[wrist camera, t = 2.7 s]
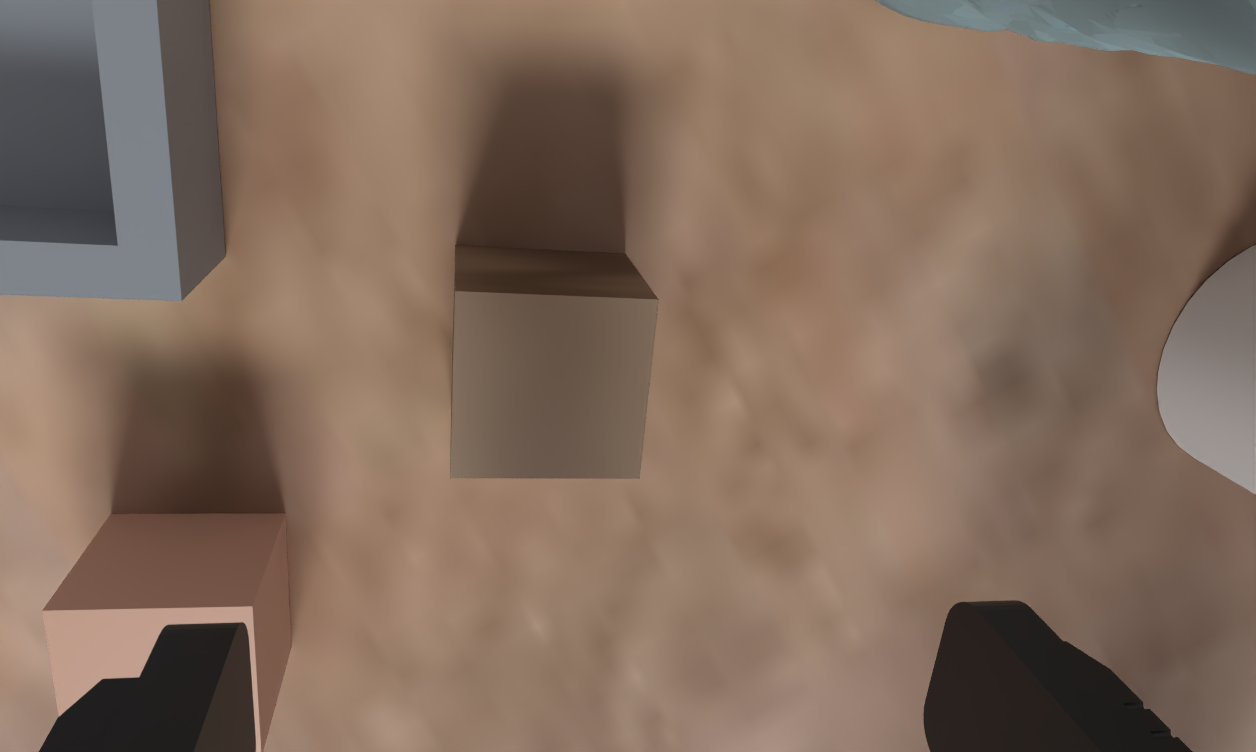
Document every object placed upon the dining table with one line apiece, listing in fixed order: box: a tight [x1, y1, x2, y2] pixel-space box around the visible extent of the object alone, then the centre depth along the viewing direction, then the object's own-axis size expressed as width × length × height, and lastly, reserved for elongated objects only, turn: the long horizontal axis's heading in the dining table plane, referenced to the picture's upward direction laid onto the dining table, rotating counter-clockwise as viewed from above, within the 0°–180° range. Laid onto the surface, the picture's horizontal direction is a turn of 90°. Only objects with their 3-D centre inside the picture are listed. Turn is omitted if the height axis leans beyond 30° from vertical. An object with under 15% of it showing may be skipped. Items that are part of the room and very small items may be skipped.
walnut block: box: [450, 245, 659, 479], centre depth 20 cm, size 4×4×4 cm
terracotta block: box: [42, 513, 291, 752], centre depth 21 cm, size 4×4×4 cm
